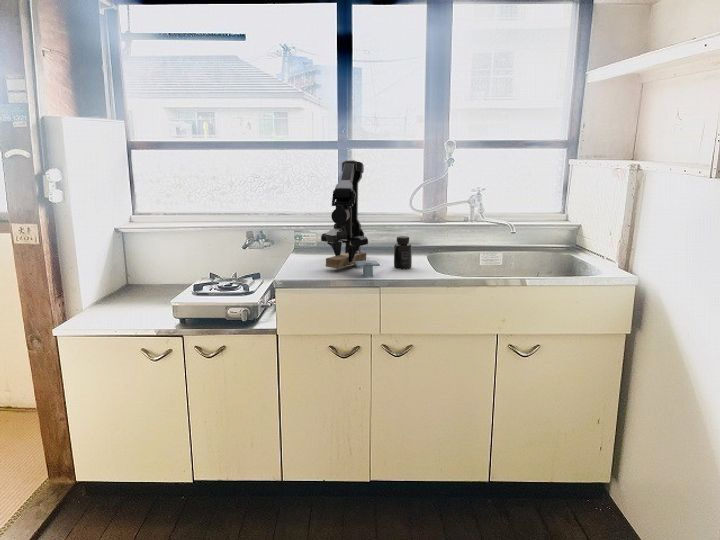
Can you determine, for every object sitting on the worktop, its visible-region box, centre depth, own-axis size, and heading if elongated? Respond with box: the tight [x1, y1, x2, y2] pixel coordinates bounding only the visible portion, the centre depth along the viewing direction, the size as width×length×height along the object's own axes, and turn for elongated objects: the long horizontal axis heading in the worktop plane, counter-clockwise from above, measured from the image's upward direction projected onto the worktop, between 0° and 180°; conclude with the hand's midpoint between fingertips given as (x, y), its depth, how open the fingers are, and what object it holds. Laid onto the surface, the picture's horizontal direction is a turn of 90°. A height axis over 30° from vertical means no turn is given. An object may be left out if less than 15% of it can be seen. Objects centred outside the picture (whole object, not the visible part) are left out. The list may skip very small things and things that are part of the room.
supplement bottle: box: [393, 235, 413, 270], centre depth 202 cm, size 7×7×12 cm
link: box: [325, 251, 367, 269], centre depth 202 cm, size 18×6×3 cm, turn 143°
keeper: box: [353, 259, 381, 278], centre depth 191 cm, size 7×8×4 cm
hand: (344, 261), depth 201 cm, fingers closed on link, 5 cm apart
